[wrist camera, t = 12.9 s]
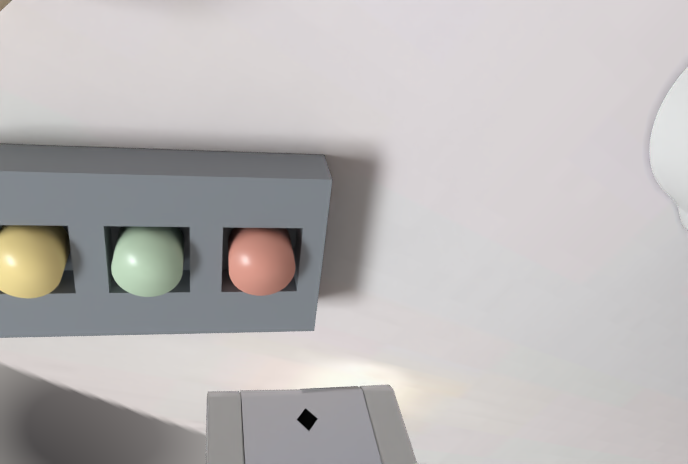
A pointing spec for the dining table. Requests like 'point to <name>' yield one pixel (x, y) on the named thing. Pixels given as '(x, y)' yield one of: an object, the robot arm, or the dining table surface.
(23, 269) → the mustard button
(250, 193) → the button panel
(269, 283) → the brick button
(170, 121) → the dining table surface
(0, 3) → the candle
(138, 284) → the sage button
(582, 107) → the dining table surface
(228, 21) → the dining table surface
